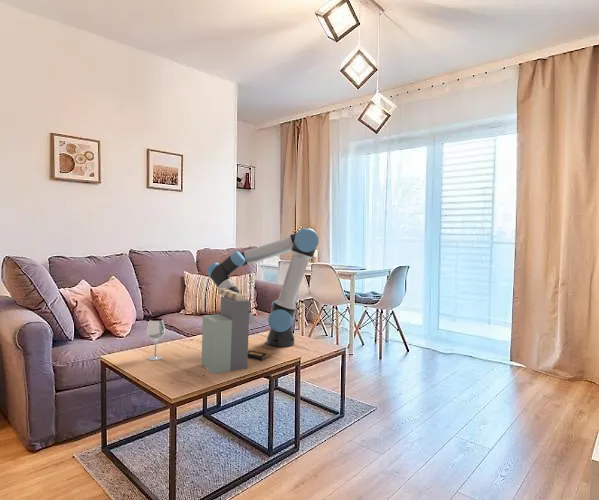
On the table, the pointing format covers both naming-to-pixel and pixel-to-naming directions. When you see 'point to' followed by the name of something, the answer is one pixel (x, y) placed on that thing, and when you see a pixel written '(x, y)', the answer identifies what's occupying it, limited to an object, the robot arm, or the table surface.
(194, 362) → the table surface
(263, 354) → the ammunition clip
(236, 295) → the beech bar
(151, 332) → the wineglass
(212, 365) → the step stand
